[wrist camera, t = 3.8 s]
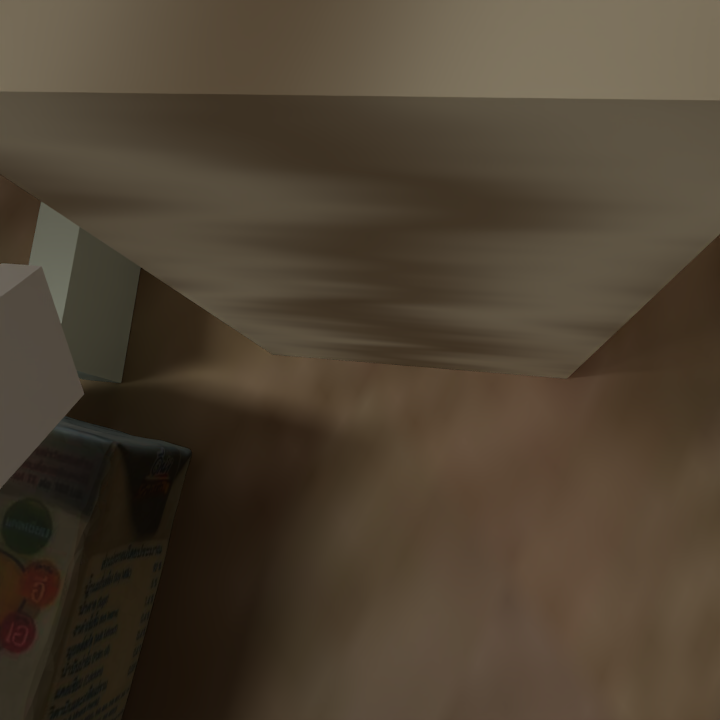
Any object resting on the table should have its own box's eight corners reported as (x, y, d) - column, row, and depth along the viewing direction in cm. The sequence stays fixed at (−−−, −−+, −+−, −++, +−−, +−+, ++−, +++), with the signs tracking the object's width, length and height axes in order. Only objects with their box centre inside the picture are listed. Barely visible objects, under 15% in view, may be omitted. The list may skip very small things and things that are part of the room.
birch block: (272, 354, 23) (-127, 90, 7) (283, 272, 23) (-70, -138, 8) (566, 378, 21) (859, 102, 6) (572, 290, 22) (853, -189, 6)
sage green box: (83, 379, 24) (-178, 310, 14) (162, -64, 27) (-7, -373, 17) (803, 446, 20) (1135, 415, 10) (801, -83, 23) (1055, -502, 13)
